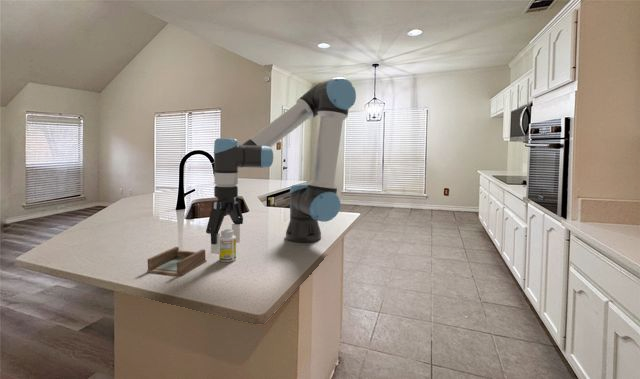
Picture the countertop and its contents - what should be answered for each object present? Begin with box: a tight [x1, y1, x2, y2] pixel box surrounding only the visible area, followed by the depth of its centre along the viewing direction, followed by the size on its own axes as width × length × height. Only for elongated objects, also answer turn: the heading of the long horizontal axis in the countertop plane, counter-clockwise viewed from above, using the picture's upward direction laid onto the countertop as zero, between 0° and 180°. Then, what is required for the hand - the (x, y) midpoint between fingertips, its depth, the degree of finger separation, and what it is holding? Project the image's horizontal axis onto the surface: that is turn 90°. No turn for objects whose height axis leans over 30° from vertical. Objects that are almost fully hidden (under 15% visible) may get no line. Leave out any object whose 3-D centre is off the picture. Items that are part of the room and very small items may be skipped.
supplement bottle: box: [218, 229, 237, 263], centre depth 112 cm, size 6×6×10 cm
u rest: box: [146, 246, 207, 277], centre depth 105 cm, size 12×13×4 cm
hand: (226, 247), depth 112 cm, fingers open, 13 cm apart
